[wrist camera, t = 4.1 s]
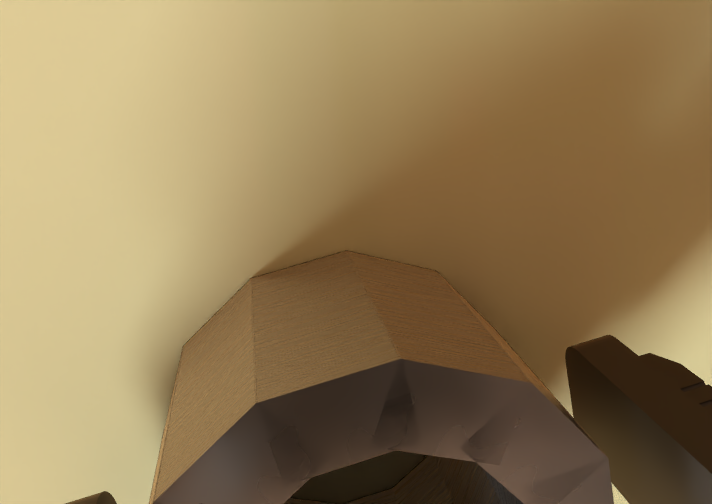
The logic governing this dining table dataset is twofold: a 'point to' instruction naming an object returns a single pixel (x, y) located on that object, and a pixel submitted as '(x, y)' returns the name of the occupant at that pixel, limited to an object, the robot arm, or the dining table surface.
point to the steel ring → (365, 397)
